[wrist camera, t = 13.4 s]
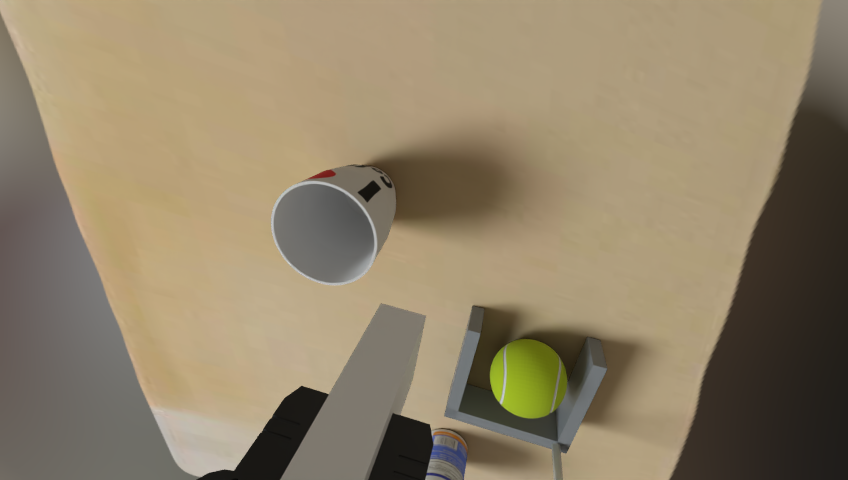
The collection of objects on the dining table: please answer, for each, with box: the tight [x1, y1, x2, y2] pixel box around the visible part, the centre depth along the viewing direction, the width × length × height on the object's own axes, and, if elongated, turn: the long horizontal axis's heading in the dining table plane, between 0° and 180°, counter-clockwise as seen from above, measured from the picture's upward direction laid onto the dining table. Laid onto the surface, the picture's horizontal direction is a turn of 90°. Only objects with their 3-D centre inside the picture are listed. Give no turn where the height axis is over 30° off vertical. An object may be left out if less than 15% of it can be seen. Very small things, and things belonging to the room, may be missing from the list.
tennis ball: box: [490, 339, 567, 418], centre depth 39 cm, size 7×7×7 cm
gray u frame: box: [444, 306, 607, 480], centre depth 35 cm, size 11×12×18 cm
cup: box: [271, 165, 396, 285], centre depth 34 cm, size 8×8×10 cm
